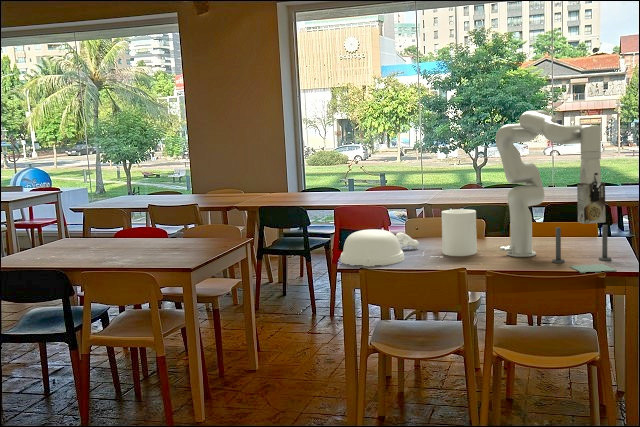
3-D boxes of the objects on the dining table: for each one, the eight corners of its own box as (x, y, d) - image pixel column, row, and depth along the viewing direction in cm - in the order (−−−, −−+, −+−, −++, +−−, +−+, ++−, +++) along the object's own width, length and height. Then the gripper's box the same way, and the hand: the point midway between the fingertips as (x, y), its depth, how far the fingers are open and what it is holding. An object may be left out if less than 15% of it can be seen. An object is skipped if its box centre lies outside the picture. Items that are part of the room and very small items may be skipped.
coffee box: (598, 220, 281) (598, 181, 279) (606, 222, 274) (605, 182, 273) (577, 222, 281) (576, 182, 279) (583, 224, 274) (583, 184, 272)
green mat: (581, 273, 271) (581, 271, 271) (570, 267, 283) (570, 265, 283) (616, 271, 271) (616, 270, 271) (603, 265, 283) (603, 264, 283)
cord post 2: (601, 261, 292) (601, 226, 290) (596, 259, 297) (596, 224, 295) (613, 260, 292) (613, 225, 290) (608, 258, 297) (608, 224, 295)
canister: (442, 250, 335) (441, 209, 333) (476, 249, 332) (475, 208, 330) (442, 256, 320) (441, 214, 317) (477, 255, 317) (476, 213, 314)
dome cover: (346, 253, 339) (345, 226, 337) (407, 253, 333) (406, 224, 331) (334, 267, 308) (333, 236, 306) (400, 266, 302) (399, 235, 300)
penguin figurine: (395, 231, 344) (418, 232, 344) (394, 248, 345) (417, 249, 345) (395, 233, 338) (420, 234, 337) (394, 250, 339) (418, 251, 339)
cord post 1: (554, 263, 292) (554, 228, 290) (550, 261, 297) (550, 227, 295) (566, 262, 292) (566, 228, 290) (562, 260, 297) (561, 226, 295)
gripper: (573, 155, 283) (573, 198, 285) (590, 157, 266) (590, 202, 268) (591, 154, 283) (591, 197, 285) (609, 156, 266) (609, 201, 268)
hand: (591, 199), depth 276 cm, fingers closed on coffee box, 6 cm apart
